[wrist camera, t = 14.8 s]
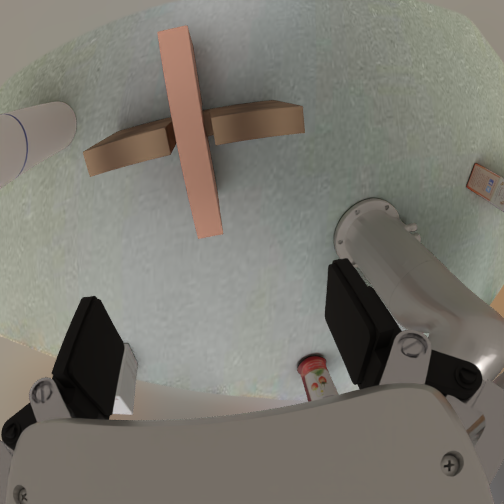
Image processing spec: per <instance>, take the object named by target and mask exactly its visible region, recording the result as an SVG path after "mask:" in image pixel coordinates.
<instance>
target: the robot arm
mask: <svg viewBox="0 0 504 504" xmlns="http://www.w3.org/2000/svg"><path fill="white" fill-rule="evenodd" d="M416 230H417V225H416V223H410V224H407V225H405V224H404V223H403V222H402V221H401V220H400V216H399V214H398V211H397V210H396V209H395V207H394V206H392V205H391V204H390V203H388V202H387V201H385V200H382V199H376V198H372V199H367V200H364V201H361V202H359V203H357V204H355V205H354V206H353V207H351V208H350V209H349V210H348V211H347V212H346V213H345V214H344V215H343V217H342V218H341V220H340V221H339V223H338V226H337V228H336V231H335V235H334V246H335V250H336V253H337V254H338V256H339V258H340V259H338V260H334V261H333V262H332V264H330V265H329V267H328V281H327V294H326V306H325V319H326V322H327V324H328V327H329V329H330V331H331V333H332V336H333V338H334V340H335V343H336V345H337V347H338V350H339V352H340V354H341V356H342V359H343V361H344V363H345V366H346V368H347V371H348V373H349V375H350V378H351V380H352V382H353V384H354V385H356V384H358V386H359V389H360V390H356V391H351V392H348V393H344V394H340V395H336V396H332V397H328V398H323V399H319V400H314V401H310V402H305V403H301V404H296V405H291V406H286V407H281V408H275V409H269V410H263V411H256V412H250V413H243V414H235V415H226V416H217V417H207V418H194V419H179V420H146V421H145V420H143V421H142V420H138V421H135V420H134V421H133V420H109V416H110V415H112V413H113V408H114V402H115V396H116V390H117V385H118V379H119V374H120V369H121V364H122V359H123V355H124V349H125V348H124V343H123V341H122V339H121V337H120V336H119V334H118V332H117V330H116V328H115V326H114V325H113V323H112V321H111V319H110V317H109V315H108V313H107V311H106V309H105V307H104V306H103V304H102V302H101V300H100V299H97V297H95V296H91V297H83V298H82V299H81V301H80V303H79V306H78V308H77V310H76V312H75V315H74V317H73V319H72V321H71V324H70V326H69V329H68V331H67V333H66V336H65V338H64V341H63V343H62V346H61V349H60V351H59V354H58V356H57V359H56V362H55V365H54V368H53V371H52V374H53V378H52V379H51V378H48V377H45V378H41V379H39V380H37V381H36V382H35V383H34V384H33V386H32V387H31V389H30V392H29V400H30V403H29V404H28V405H26V406H25V407H24V408H23V409H21V410H20V411H19V412H17V413H16V414H15V415H14V416H12V417H11V418H10V419H9V420H7V421H6V422H5V424H4V426H3V428H2V434H1V435H2V441H1V440H0V504H494V500H493V497H492V494H491V490H490V487H489V485H490V484H491V482H492V480H493V478H494V477H495V475H496V473H497V471H498V470H499V468H500V466H501V464H502V462H503V460H504V372H503V373H502V374H500V375H499V376H498V377H497V378H496V379H495V377H496V376H497V375H498V374H499V373H500V372H501V370H502V369H503V367H504V318H503V317H502V316H501V315H500V314H499V313H498V312H497V311H495V310H494V309H493V308H492V307H490V306H489V305H488V304H487V303H485V302H484V301H483V300H482V299H480V298H479V297H478V296H477V295H475V294H474V293H473V292H472V291H471V290H470V289H468V288H467V287H466V286H465V285H464V284H463V283H462V282H461V281H460V280H459V279H458V278H457V277H456V276H455V275H454V274H452V273H451V272H450V271H449V270H448V269H447V268H446V267H445V266H444V265H443V264H442V263H441V262H440V261H439V260H438V259H437V258H436V257H435V256H434V255H433V254H432V253H431V252H430V251H429V250H428V249H427V248H426V247H425V246H424V245H423V244H422V243H420V242H421V237H420V235H419V233H414V234H411V233H410V232H412V231H416ZM354 267H357V268H359V269H360V270H361V271H362V273H363V274H364V275H365V277H366V278H367V280H368V281H369V282H370V284H371V285H372V287H373V288H374V289H375V290H374V289H373V288H372V287H370V286H368V287H367V285H366V284H365V282H364V281H363V279H362V278H361V276H360V275H359V273H358V272H357V271H356V269H355V268H354ZM375 291H376V292H377V293H376V292H375ZM377 294H378V295H379V296H380V298H381V299H382V301H383V302H384V303H383V302H382V301H381V299H380V298H379V296H378V295H377ZM384 304H385V305H386V306H385V305H384ZM386 307H387V308H388V309H389V311H390V312H391V314H392V315H393V317H394V318H395V320H396V321H397V322H398V323H399V324H400V325H401V326H402V327H404V328H406V329H408V330H405V331H401V329H400V328H399V326H398V325H397V323H396V322H395V320H394V319H393V317H392V315H391V314H390V312H389V311H388V309H387V308H386ZM423 333H429V336H428V338H427V336H426V335H424V334H423ZM494 379H495V380H494ZM493 380H494V381H493ZM492 381H493V382H492ZM501 504H504V501H503V502H502V503H501Z"/></svg>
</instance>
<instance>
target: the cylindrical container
mask: <svg viewBox="0 0 504 504" xmlns="http://www.w3.org/2000/svg"><path fill="white" fill-rule="evenodd" d="M76 126H77V122H76V116H75V113H74V111H73V110H72V108H71V107H70V106H69V105H67V104H66V103H64V102H60V101H56V102H50V103H45V104H40V105H36V106H31V107H27V108H23V109H19V110H15V111H11V112H8V113H4V114H1V115H0V189H1V188H2V187H4V186H5V185H7V184H8V183H9V182H11V181H12V180H14V179H15V178H17V177H18V176H20V175H21V174H23V173H24V172H26V171H27V170H29V169H31V168H32V167H34V166H35V165H37V164H39V163H40V162H42V161H44V160H45V159H47V158H49V157H50V156H52V155H54V154H56V153H57V152H59V151H61V150H63V149H64V148H66V147H67V146H68V145H69V144H70V143H71V141H72V140H73V138H74V135H75V132H76Z"/></svg>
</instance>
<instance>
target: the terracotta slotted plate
mask: <svg viewBox="0 0 504 504" xmlns="http://www.w3.org/2000/svg"><path fill="white" fill-rule="evenodd" d="M158 39H159V46H160V53H161V59H162V65H163V72H164V78H165V84H166V89H167V95H168V101H169V106H170V112H171V117H172V122H173V127H174V132H175V137H176V142H177V147H178V152H179V157H180V162H181V166H182V171H183V176H184V180H185V185H186V189H187V194H188V198H189V202H190V207H191V211H192V215H193V219H194V223H195V228H196V232H197V236H198V239H200V238H205V237H210V236H215V235H221V234H223V229H222V222H221V214H220V207H219V199H218V192H217V186H216V181H215V175H214V170H213V164H212V158H211V153H210V147H209V141H208V136H206V130H205V124H204V118H203V112H202V100H201V94H200V87H199V81H198V75H197V68H196V62H195V55H194V49H193V44H192V40H191V37H190V33H189V30H188V26H182V27H177V28H172V29H168V30H164V31H159V32H158Z"/></svg>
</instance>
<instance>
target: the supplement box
mask: <svg viewBox="0 0 504 504" xmlns="http://www.w3.org/2000/svg"><path fill="white" fill-rule="evenodd" d="M124 348H125V349H124V355H123V359H122V364H121V369H120V374H119V379H118V385H117V390H116V396H115V402H114V408H113V413H112V414H133V407H134V406H133V405H134V396H135V385H136V376H137V368H138V363H137V361H136V359H135V357H134V355H133V353H132V350H131V348H130V346H129V344H124Z"/></svg>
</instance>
